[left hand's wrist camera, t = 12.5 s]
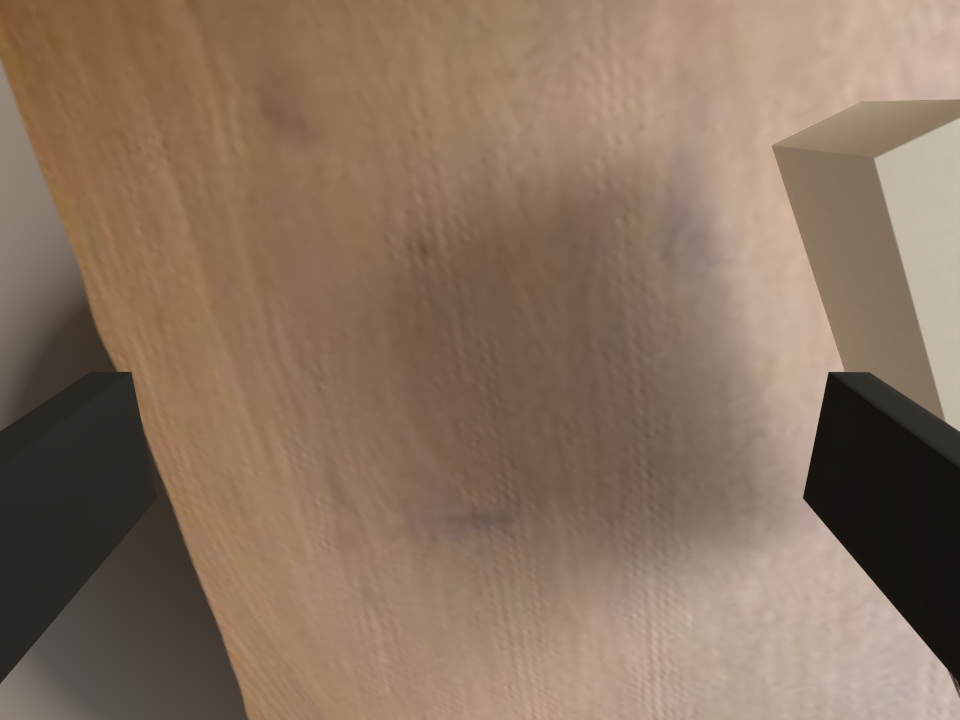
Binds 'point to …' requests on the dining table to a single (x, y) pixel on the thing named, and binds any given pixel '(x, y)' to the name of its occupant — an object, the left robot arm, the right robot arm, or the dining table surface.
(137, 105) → the dining table surface
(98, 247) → the dining table surface
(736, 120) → the dining table surface
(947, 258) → the bar
